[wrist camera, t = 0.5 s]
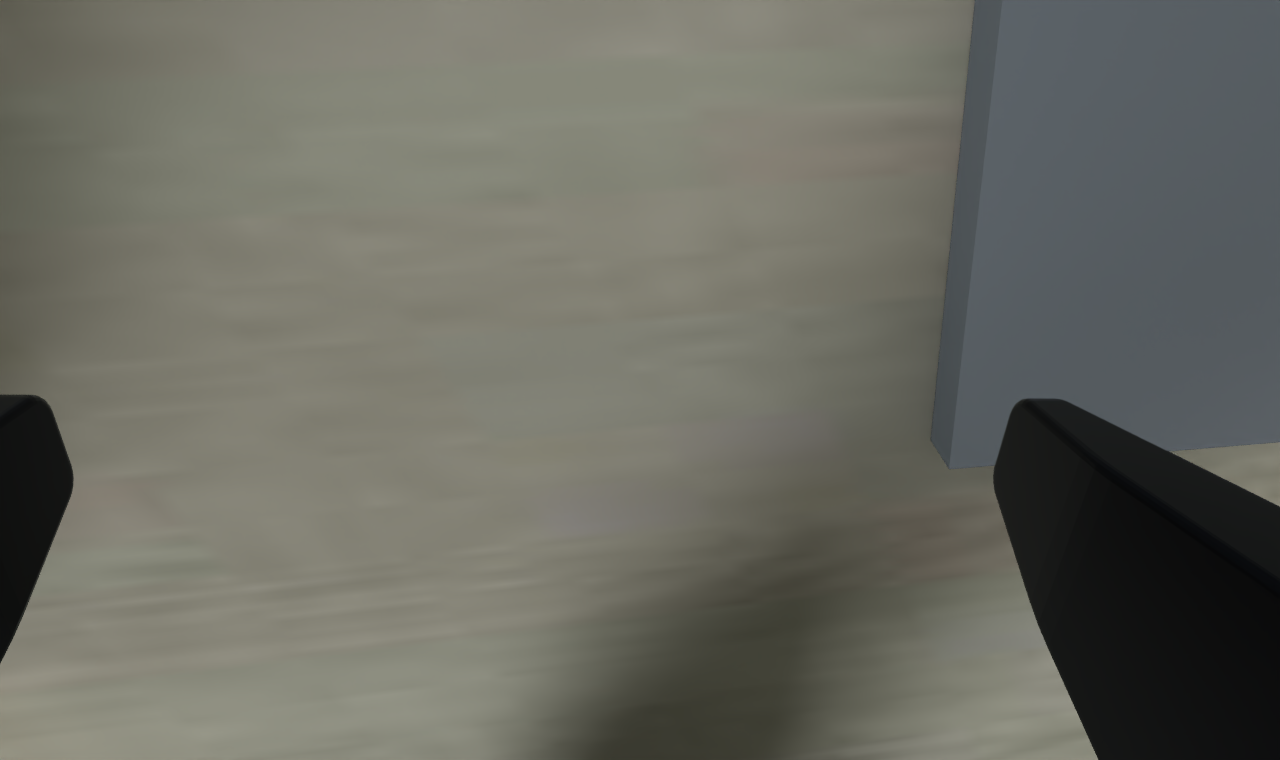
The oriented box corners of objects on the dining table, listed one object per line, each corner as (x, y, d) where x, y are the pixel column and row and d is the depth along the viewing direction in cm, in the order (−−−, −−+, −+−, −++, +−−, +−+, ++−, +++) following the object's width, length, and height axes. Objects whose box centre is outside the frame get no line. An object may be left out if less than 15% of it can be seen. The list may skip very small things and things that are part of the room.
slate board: (1346, 406, 27) (1385, 433, 25) (930, 440, 26) (948, 469, 25) (1503, -55, 21) (1565, -51, 20) (976, -18, 21) (1003, -11, 19)
